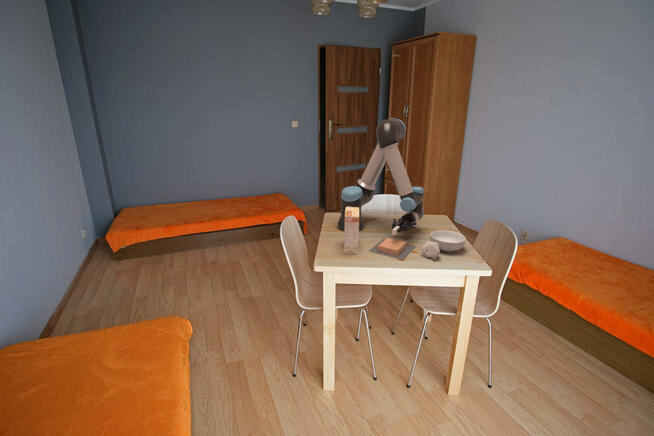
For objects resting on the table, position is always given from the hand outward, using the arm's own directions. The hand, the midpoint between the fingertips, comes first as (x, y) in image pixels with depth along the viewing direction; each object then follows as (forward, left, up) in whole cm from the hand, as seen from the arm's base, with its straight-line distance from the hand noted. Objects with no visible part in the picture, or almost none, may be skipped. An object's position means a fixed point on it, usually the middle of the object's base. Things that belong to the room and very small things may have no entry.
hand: (393, 232), depth 169 cm
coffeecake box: (-19, -7, -10) cm, 23 cm away
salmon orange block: (0, +6, -7) cm, 10 cm away
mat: (0, +1, -10) cm, 10 cm away
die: (+18, +3, -10) cm, 21 cm away
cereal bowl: (+22, +18, -10) cm, 31 cm away
